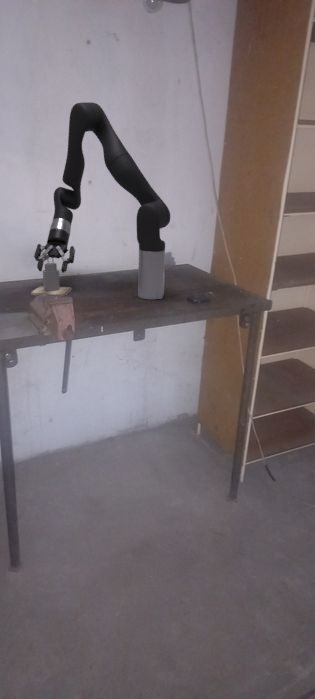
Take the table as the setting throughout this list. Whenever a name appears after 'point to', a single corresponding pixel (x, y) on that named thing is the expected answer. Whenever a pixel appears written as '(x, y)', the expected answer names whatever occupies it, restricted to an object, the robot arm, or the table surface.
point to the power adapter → (51, 277)
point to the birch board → (58, 292)
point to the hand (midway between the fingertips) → (51, 270)
